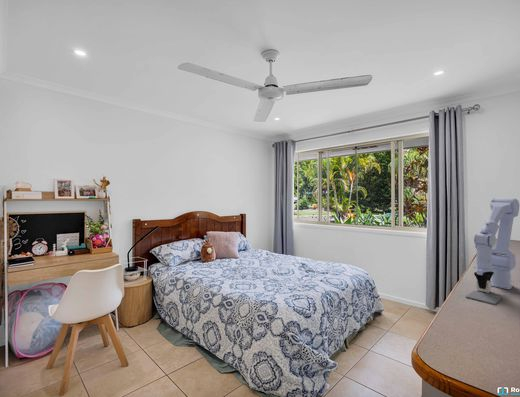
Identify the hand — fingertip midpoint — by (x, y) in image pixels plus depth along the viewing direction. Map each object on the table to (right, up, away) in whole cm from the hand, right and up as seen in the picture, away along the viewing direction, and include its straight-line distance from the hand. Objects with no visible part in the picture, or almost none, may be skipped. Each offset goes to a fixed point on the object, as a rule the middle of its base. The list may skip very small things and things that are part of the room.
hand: (483, 287), depth 128 cm
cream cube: (0, -1, 0) cm, 1 cm away
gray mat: (-7, -2, -9) cm, 11 cm away
